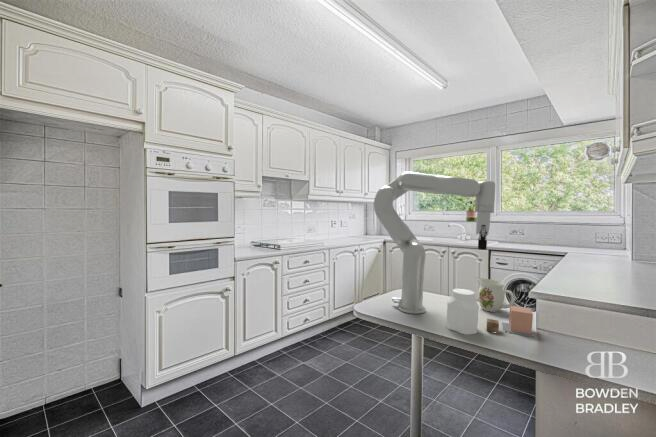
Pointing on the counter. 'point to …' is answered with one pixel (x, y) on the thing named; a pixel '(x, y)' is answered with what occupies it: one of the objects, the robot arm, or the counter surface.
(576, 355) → the counter surface
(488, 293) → the pitcher
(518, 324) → the salmon pink block
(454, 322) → the jar
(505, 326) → the mat
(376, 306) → the counter surface
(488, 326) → the block
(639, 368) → the counter surface
